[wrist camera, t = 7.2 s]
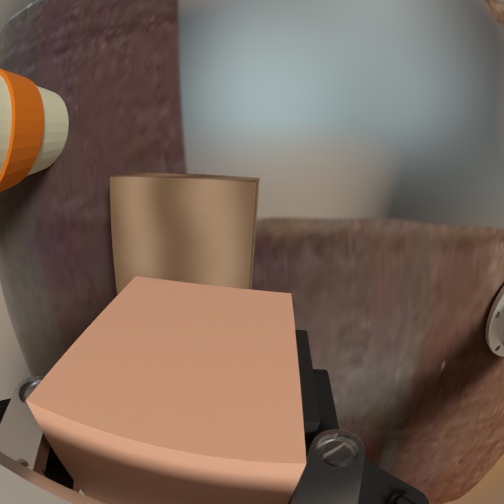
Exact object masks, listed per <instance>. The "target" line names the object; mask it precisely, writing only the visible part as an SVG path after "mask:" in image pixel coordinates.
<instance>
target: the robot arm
mask: <svg viewBox="0 0 504 504" xmlns="http://www.w3.org/2000/svg"><path fill="white" fill-rule="evenodd" d="M295 334H296V344H297V354H298V365H299V375H300V386H301V398H302V410H303V422H304V436H305V450H306V466H305V468H304V470H303V473H302V475H301V477H300V479H299V481H298V484H297V486H296V488H295V490H294V492H293V494H292V496H291V498H290V501H289V503H288V504H429V501H428V499H427V498H426V496H425V495H424V494H423V493H422V492H420V491H419V490H417V489H416V488H414V487H412V486H410V485H408V484H406V483H405V482H403V481H401V480H399V479H398V478H396V477H394V476H392V475H391V474H389V473H387V472H385V471H384V470H382V469H380V468H379V467H377V466H375V465H374V464H372V463H370V462H369V461H367V460H366V459H365V447H364V445H363V443H362V441H361V440H360V439H359V438H358V437H357V436H356V435H354V434H352V433H351V432H348V431H345V430H339V427H338V422H337V416H336V411H335V406H334V401H333V395H332V390H331V385H330V380H329V375H328V372H327V370H318V369H313V367H312V361H311V354H310V348H309V341H308V335H307V331H305V330H295ZM485 335H486V342H487V345H488V346H489V348H490V349H491V351H492V352H493V353H494V354H496V355H498V356H504V286H503V287H502V289H501V290H500V292H499V293H498V295H497V297H496V299H495V301H494V303H493V305H492V307H491V310H490V312H489V315H488V319H487V323H486V330H485ZM43 379H44V377H38V376H35V377H30V378H28V379H25V380H23V381H22V382H21V383H20V384H19V385H18V386H17V388H16V389H15V392H14V393H13V396H12V398H11V399H6V400H2V401H0V504H106V503H103V502H101V501H98V500H96V499H93V498H90V497H88V496H85V495H83V494H81V493H79V490H80V488H79V487H78V485H77V484H76V483H75V481H74V480H73V478H72V477H71V476H70V474H69V473H68V471H67V470H66V468H65V467H64V466H63V464H62V463H61V461H60V460H59V458H58V456H57V455H56V453H55V452H54V450H53V449H52V447H51V445H50V444H49V442H48V440H47V439H46V437H45V435H44V434H43V432H42V430H41V428H40V426H39V425H38V423H37V421H36V419H35V417H34V415H33V414H32V412H31V410H30V408H29V406H28V404H27V402H26V399H27V398H28V397H29V396H30V394H31V393H32V392H33V391H34V389H35V388H36V387H37V386H38V385H39V383H40V382H41V381H42V380H43ZM437 504H438V503H437Z"/></svg>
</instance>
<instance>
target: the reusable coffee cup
mask: <svg viewBox="0 0 504 504" xmlns="http://www.w3.org/2000/svg"><path fill="white" fill-rule="evenodd" d="M68 125H69V122H68V113H67V108H66V106H65V103H64V101H63V100H62V98H61V97H60V96H59V95H57V94H56V93H54V92H52V91H49V90H46V89H43V88H41V87H38V86H36V85H35V84H34V83H33V82H32V81H31V80H30V79H28V78H25V77H22V76H20V75H17V74H14V73H11V72H8V71H5V70H2V69H0V192H1V191H4V190H6V189H8V188H10V187H12V186H15V185H16V184H18V183H19V182H21V181H22V180H23V179H24V178H25V177H26V176H28V175H31V174H33V173H36V172H38V171H41V170H43V169H46V168H47V167H49V166H51V165H52V164H53V163H54V162H55V161H56V159H57V158H58V157H59V155H60V154H61V152H62V150H63V148H64V145H65V142H66V138H67V134H68Z"/></svg>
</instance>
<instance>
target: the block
mask: <svg viewBox="0 0 504 504" xmlns="http://www.w3.org/2000/svg"><path fill="white" fill-rule="evenodd" d="M26 402H27V404H28V406H29V408H30V410H31V412H32V414H33V415H34V417H35V419H36V421H37V423H38V425H39V426H40V428H41V430H42V432H43V434H44V435H45V437H46V439H47V440H48V442H49V444H50V445H51V447H52V449H53V450H54V452H55V453H56V455H57V456H58V458H59V460H60V461H61V463H62V464H63V466H64V467H65V468H66V470H67V471H68V473H69V474H70V476H71V477H72V478H73V480H74V481H75V483H76V484H77V485H78V487H79V488H80V489H81V491H82V492H83V493H84V494H85V496H88V497H90V498H93V499H96V500H98V501H101V502H103V503H106V504H288V503H289V501H290V498H291V496H292V494H293V492H294V490H295V488H296V486H297V484H298V481H299V479H300V477H301V475H302V473H303V470H304V468H305V466H306V450H305V436H304V422H303V410H302V398H301V386H300V375H299V365H298V354H297V344H296V334H295V325H294V315H293V306H292V297H291V294H290V293H280V292H269V291H259V290H249V289H239V288H230V287H221V286H212V285H203V284H195V283H186V282H178V281H170V280H162V279H155V278H147V277H140V276H136V277H135V278H134V279H133V280H132V281H131V282H130V283H129V284H128V285H127V286H126V287H125V288H124V289H123V290H122V291H121V292H120V293H119V294H118V295H117V296H116V298H115V299H114V300H113V301H112V302H111V303H110V304H109V305H108V306H107V307H106V308H105V309H104V310H103V311H102V312H101V314H100V315H99V316H98V317H97V318H96V319H95V320H94V321H93V322H92V323H91V324H90V326H89V327H88V328H87V329H86V330H85V331H84V332H83V333H82V334H81V336H80V337H79V338H78V339H77V340H76V341H75V342H74V343H73V345H72V346H71V347H70V348H69V349H68V350H67V351H66V353H65V354H64V355H63V356H62V357H61V358H60V360H59V361H58V362H57V363H56V364H55V365H54V367H53V368H52V369H51V370H50V371H49V373H48V374H47V375H46V376H45V377H44V379H43V380H42V381H41V382H40V383H39V385H38V386H37V387H36V388H35V389H34V391H33V392H32V393H31V394H30V396H29V397H28V398H27V399H26Z"/></svg>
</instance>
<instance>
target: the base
mask: <svg viewBox="0 0 504 504" xmlns="http://www.w3.org/2000/svg"><path fill="white" fill-rule="evenodd" d="M259 181H260V178H254V177H240V176H226V175H205V174H171V173H126V174H121V175H116V176H112V177H110V210H111V231H112V247H113V259H114V270H115V280H116V289H117V295H118V294H119V293H120V292H121V291H122V290H123V289H124V288H125V287H126V286H127V285H128V284H129V283H130V282H131V281H132V280H133V279H134V278H135V277H136V276H140V277H147V278H155V279H162V280H170V281H178V282H186V283H195V284H203V285H212V286H221V287H230V288H239V289H249V290H251V285H252V272H253V259H254V245H255V232H256V219H257V208H258V207H257V206H258V194H259Z"/></svg>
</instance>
